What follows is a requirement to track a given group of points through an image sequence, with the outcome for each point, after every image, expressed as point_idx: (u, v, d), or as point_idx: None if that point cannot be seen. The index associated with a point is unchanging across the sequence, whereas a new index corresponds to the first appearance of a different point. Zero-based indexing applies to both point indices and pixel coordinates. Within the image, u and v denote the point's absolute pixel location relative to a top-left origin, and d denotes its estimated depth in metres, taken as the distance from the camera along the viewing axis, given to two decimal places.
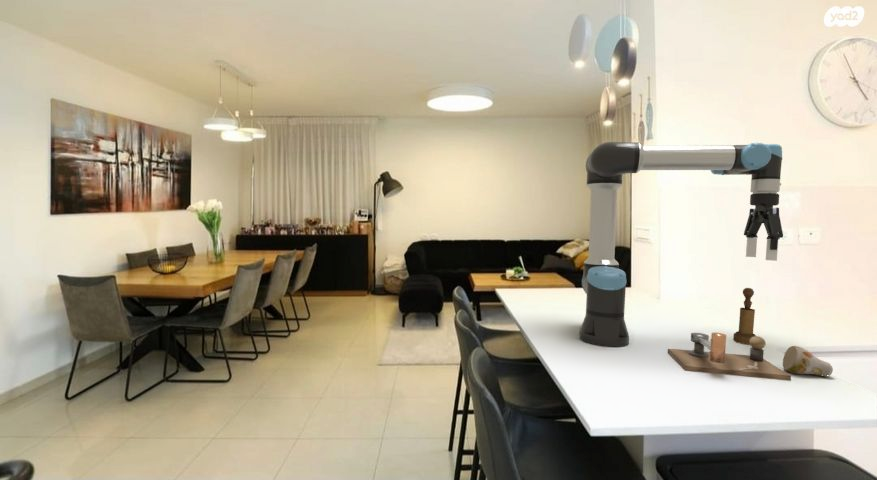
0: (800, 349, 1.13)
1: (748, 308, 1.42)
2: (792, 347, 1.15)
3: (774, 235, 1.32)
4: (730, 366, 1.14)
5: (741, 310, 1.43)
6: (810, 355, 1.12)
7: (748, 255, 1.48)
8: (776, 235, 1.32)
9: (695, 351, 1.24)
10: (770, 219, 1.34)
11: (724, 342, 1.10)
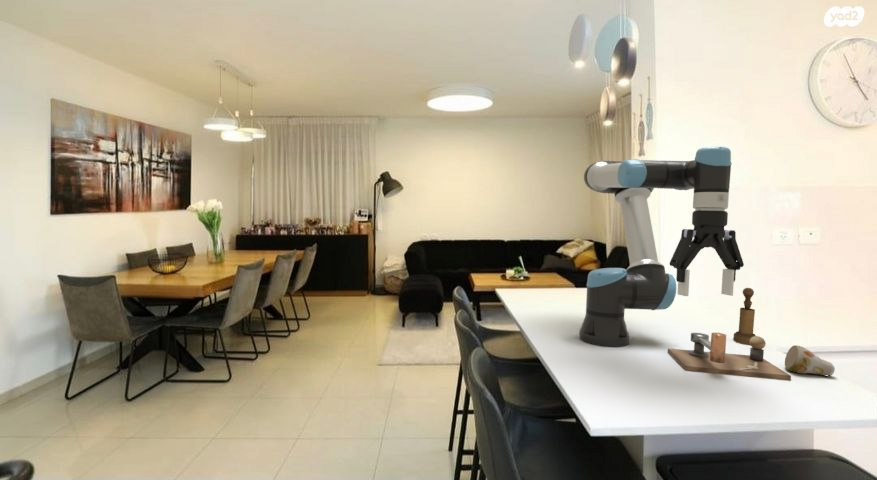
0: (801, 348, 1.14)
1: (748, 308, 1.42)
2: (794, 346, 1.16)
3: (670, 263, 1.08)
4: (730, 366, 1.14)
5: (741, 310, 1.43)
6: (811, 354, 1.12)
7: (723, 292, 1.12)
8: (671, 263, 1.08)
9: (695, 351, 1.24)
10: None
11: (724, 342, 1.10)
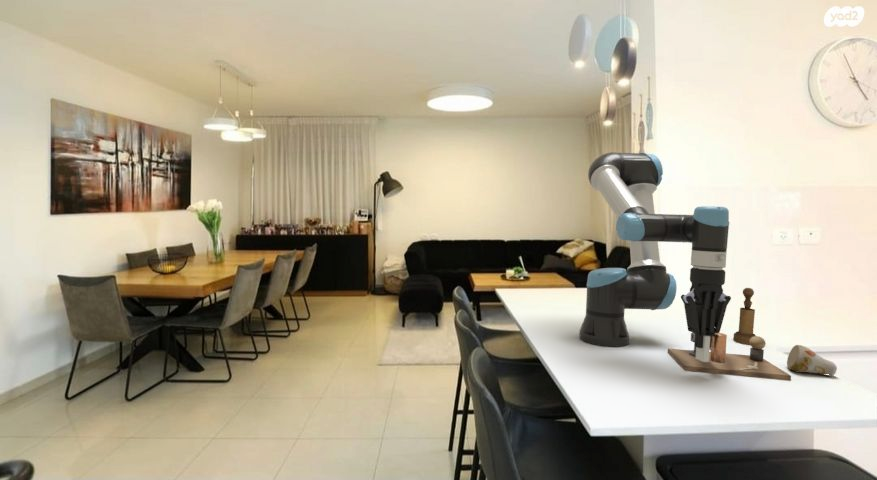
0: (803, 348, 1.14)
1: (748, 308, 1.42)
2: (796, 346, 1.17)
3: (689, 330, 1.10)
4: (730, 366, 1.14)
5: (741, 310, 1.43)
6: (813, 354, 1.13)
7: None
8: (690, 329, 1.10)
9: (695, 351, 1.24)
10: None
11: (724, 342, 1.10)
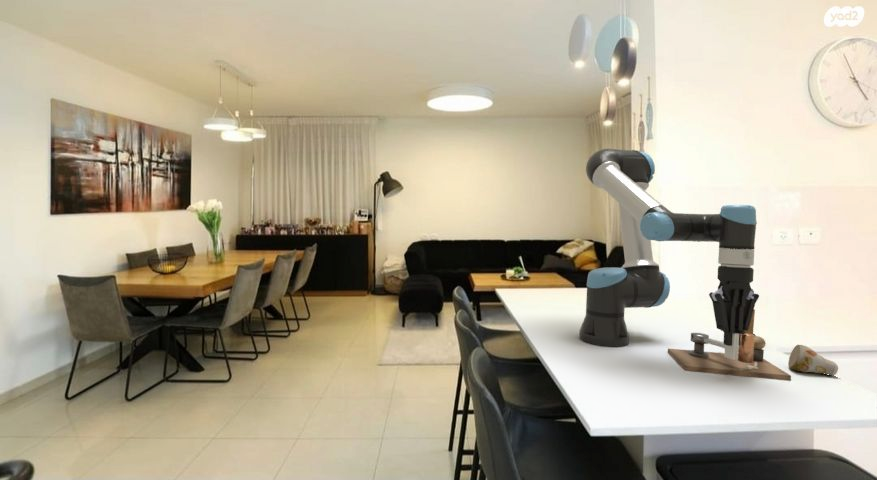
0: (804, 347, 1.14)
1: None
2: (797, 346, 1.17)
3: (717, 328, 1.11)
4: (730, 366, 1.14)
5: None
6: (814, 354, 1.13)
7: None
8: (718, 327, 1.11)
9: (695, 351, 1.24)
10: None
11: None
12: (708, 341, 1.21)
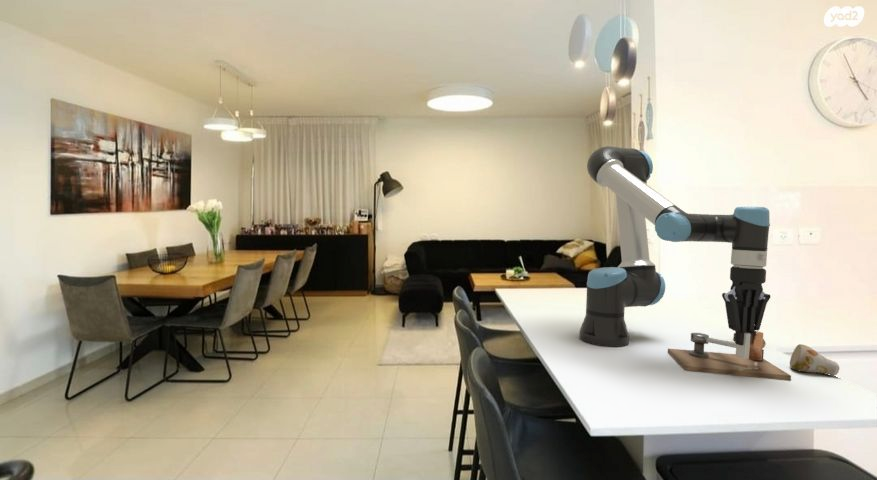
0: (805, 347, 1.15)
1: None
2: (798, 345, 1.17)
3: (729, 327, 1.13)
4: (730, 366, 1.14)
5: None
6: (815, 353, 1.13)
7: None
8: (730, 327, 1.12)
9: (695, 351, 1.24)
10: None
11: None
12: (712, 341, 1.21)
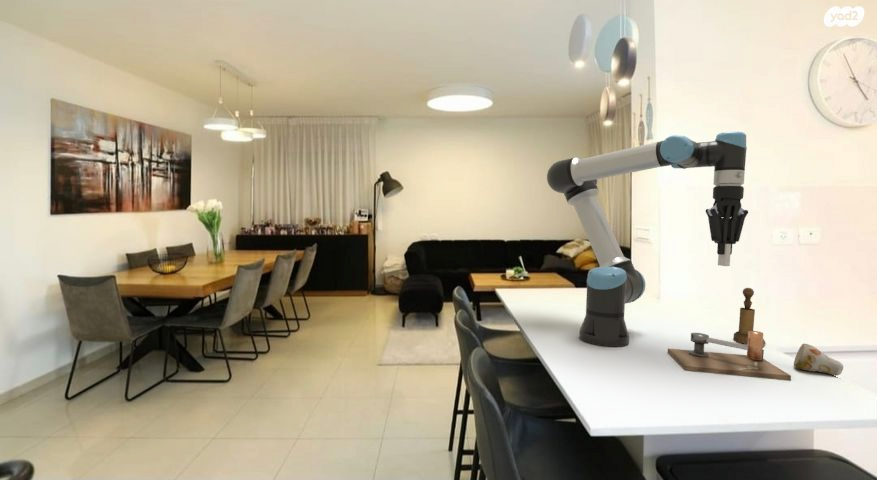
0: (808, 346, 1.16)
1: (748, 308, 1.42)
2: (802, 345, 1.18)
3: (712, 240, 1.29)
4: (730, 366, 1.14)
5: (741, 310, 1.43)
6: (818, 353, 1.14)
7: None
8: (713, 239, 1.28)
9: (695, 351, 1.24)
10: None
11: None
12: (712, 341, 1.21)
